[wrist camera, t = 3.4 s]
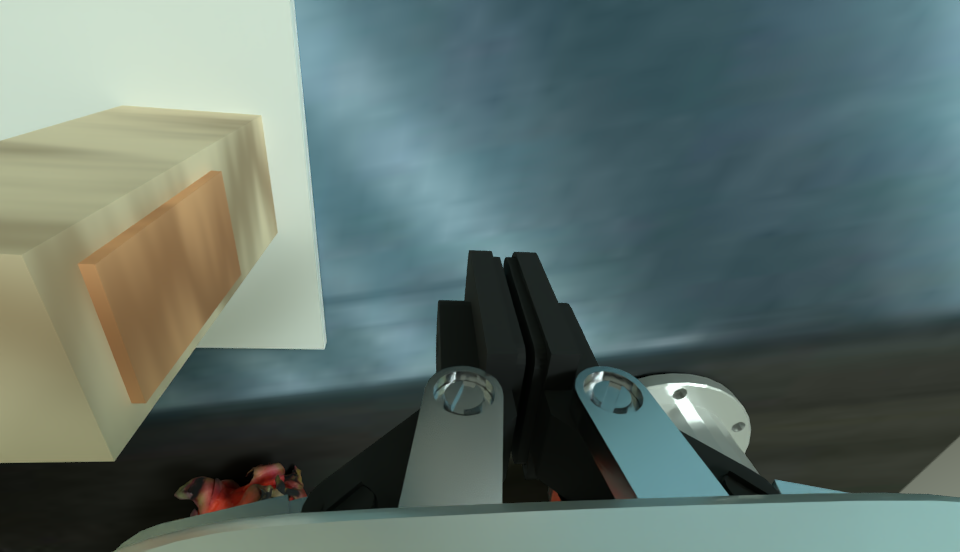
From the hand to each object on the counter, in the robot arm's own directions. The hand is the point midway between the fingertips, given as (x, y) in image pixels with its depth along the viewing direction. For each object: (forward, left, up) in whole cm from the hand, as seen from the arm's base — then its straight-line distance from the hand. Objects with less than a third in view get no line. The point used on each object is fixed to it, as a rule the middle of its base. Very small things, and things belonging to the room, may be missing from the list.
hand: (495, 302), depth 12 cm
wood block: (0, +11, -10) cm, 14 cm away
